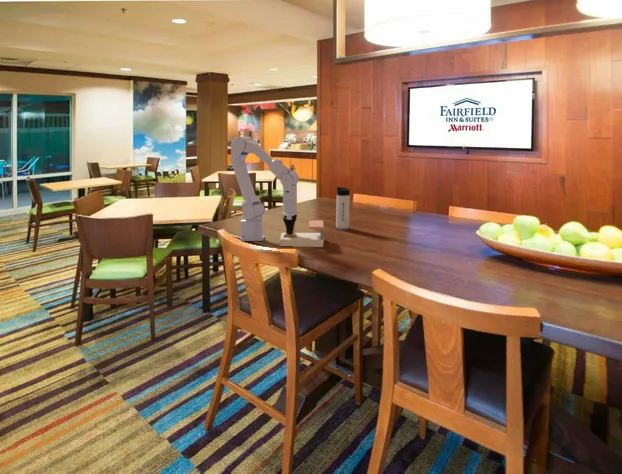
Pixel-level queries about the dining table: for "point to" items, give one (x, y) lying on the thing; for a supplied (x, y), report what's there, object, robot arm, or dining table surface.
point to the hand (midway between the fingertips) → (290, 233)
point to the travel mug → (342, 208)
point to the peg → (291, 234)
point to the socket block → (305, 237)
